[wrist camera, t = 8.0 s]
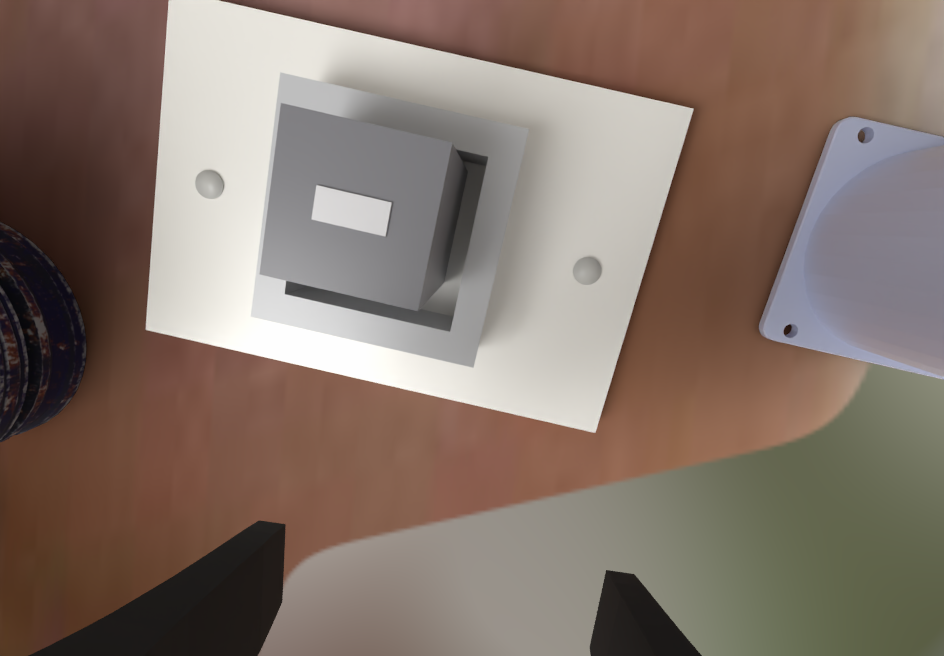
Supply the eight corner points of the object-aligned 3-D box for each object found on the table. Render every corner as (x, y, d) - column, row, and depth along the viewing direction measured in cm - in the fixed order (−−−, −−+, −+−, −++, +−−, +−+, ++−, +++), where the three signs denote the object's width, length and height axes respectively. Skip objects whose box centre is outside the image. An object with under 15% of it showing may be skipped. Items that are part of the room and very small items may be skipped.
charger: (467, 171, 17) (452, 141, 11) (444, 282, 17) (417, 312, 12) (356, 145, 17) (279, 102, 11) (338, 257, 17) (257, 274, 12)
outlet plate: (682, 115, 17) (729, 87, 13) (590, 422, 19) (610, 464, 16) (188, 2, 17) (109, -54, 13) (163, 324, 19) (92, 345, 16)
